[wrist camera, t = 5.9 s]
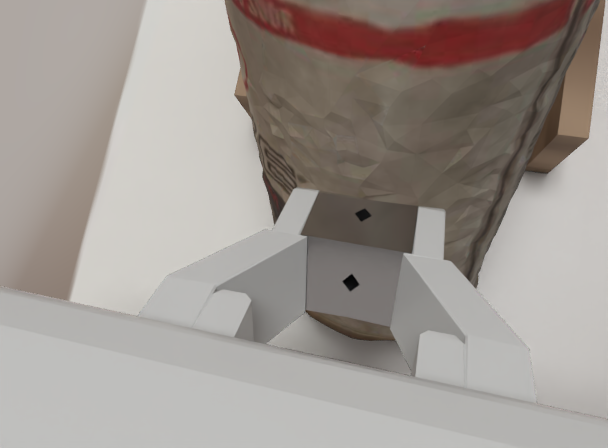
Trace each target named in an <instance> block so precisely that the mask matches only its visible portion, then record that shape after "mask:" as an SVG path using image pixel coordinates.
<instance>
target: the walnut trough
mask: <svg viewBox="0 0 608 448" xmlns="http://www.w3.org/2000/svg"><path fill="white" fill-rule="evenodd" d="M604 8H605V0H600V2H599V6H598V8H597V10H596V11H595V13H594V15H593V17H592V19H591V21H590V23H589V26H588V28H587V31H586V34H585V36H584V38H583V40H582V42H581V44H580V46H579V48H578V50H577V52H576V54H575V56H574V58H573V60H572V62H571V64H570V66H569V67H568V69H567V71H566V73H565V76H564V79H563V81H562V84H561V86H560V89H559V91H558V94H557V97H556V99H555V102H554V104H553V106H552V108H551V109H550V111H549V113H548V115H547V117H546V119H545V122H544V125H543V127H542V130H541V133H540V135H539V137H538V139H537V142H536V144H535V146H534V149H533V152H532V155H531V157H530V159H529V161H528V163H527V166H526V169H525V170H527V171H534V172H542V173H549V172H550V171H551V170H552V169H553V168H554V167H556V166H557V165H558V164H559V163H560V162H561V161H563V160H564V159H565V158H566V157H567V156H568V155H570V154H571V153H572V152H573V151H574V150H575V149H577V148H578V147H579V146H580V145H581V144H582V143H584V142H585V141H586V140H587V139H588V138H589V131H590V123H591V115H592V107H593V98H594V90H595V82H596V74H597V65H598V57H599V49H600V41H601V33H602V24H603V16H604ZM234 95H235V96H236V98H237V99H238V101H239V102H240V103H241V105H242V106H243V108H244V109H245V110H246V112H247V113H248V115H249V116H250V117H251V114H250V109H249V101H248V98H247V95H246V90H245V85H244V82H243V78H242V73H241V68H240V72H239V77H238V81H237V85H236V90H235V94H234ZM251 119H252V117H251Z"/></svg>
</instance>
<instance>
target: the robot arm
mask: <svg viewBox="0 0 608 448" xmlns="http://www.w3.org/2000/svg"><path fill="white" fill-rule="evenodd" d="M445 213H446V211H445V210H444V209H440V208H432V207H423V206H414V205H406V204H398V203H390V202H383V201H375V200H369V199H366V198H360V197H354V196H349V195H343V194H337V193H331V192H326V191H319V190H315V189H307V188H300V187H297V188H295V189H293V191H292V193H291V195H290V197H289V199H288V201H287V202H286V204H285V206H284V208H283V210H282V212H281V214H280V216H279V218H278V220H277V221H276V223H275V225H274V227H273V229H272V230H267V229H265V230H262V231H260V232H258V233H256V234H254V235H252V236H250V237H248V238H246V239H243V240H241V241H239V242H237V243H235V244H233V245H231V246H229V247H227V248H225V249H222V250H220V251H218V252H216V253H214V254H212V255H210V256H208V257H206V258H203V259H201V260H199V261H197V262H195V263H193V264H191V265H189V266H187V267H184V268H182V269H180V270H178V271H176V272H174V273H172V274H170V275H168V276H166V277H165V279H164V280H163V282H162V283H161V284H160V286H159V287H158V288H157V290H156V291H155V293H154V294H153V295H152V297H151V298H150V299H149V301H148V302H147V304H146V305H145V306H144V308H143V309H142V310H141V312H140V313H139V315H138V316H134V315H130V314H125V313H120V312H116V311H111V310H107V309H102V308H98V307H93V306H88V305H84V304H79V303H75V302H70V301H66V300H61V299H56V298H52V297H47V296H43V295H38V294H34V293H29V292H24V291H20V290H15V289H11V288H6V287H2V286H0V448H608V419H605V418H601V417H596V416H592V415H587V414H582V413H578V412H573V411H569V410H564V409H560V408H555V407H551V406H546V405H541V404H537V400H536V393H535V385H534V378H533V371H532V364H531V357H530V350H529V348H528V347H527V346H526V345H525V343H524V342H523V341H522V340H521V339H520V338H519V337H518V336H517V334H516V333H515V332H514V331H513V330H512V329H511V328H510V327H509V325H508V324H507V323H506V322H505V321H504V320H503V319H502V318H501V317H500V315H499V314H498V313H497V312H496V311H495V310H494V309H493V308H492V306H491V305H490V304H489V303H488V302H487V301H486V300H485V299H484V297H483V296H482V295H481V294H480V293H479V292H478V291H477V290H476V288H475V287H474V286H473V285H472V284H471V283H470V282H469V281H468V279H467V278H466V277H465V276H464V275H463V274H462V273H461V272H460V271H459V269H458V268H457V267H456V266H455V265H454V264H453V263H452V262H451V261H448V260H444V237H445ZM305 310H309V311H315V312H321V313H326V314H332V315H338V316H344V317H349V318H353V319H358V320H362V321H366V322H371V323H375V324H380V325H384V326H388V327H390V330H391V332H392V334H393V336H394V338H395V340H396V342H397V344H398V346H399V348H400V350H401V352H402V354H403V356H404V358H405V360H406V362H407V364H408V366H409V368H410V370H411V375H410V376H409V375H405V374H400V373H396V372H391V371H386V370H382V369H377V368H373V367H368V366H363V365H359V364H354V363H350V362H345V361H340V360H336V359H331V358H327V357H322V356H317V355H313V354H308V353H303V352H299V351H294V350H290V349H285V348H280V347H276V346H271V345H267V344H266V343H267V342H269V341H270V340H271V339H272V338H274V337H275V336H276V335H277V334H279V333H280V332H281V331H282V330H284V329H285V328H286V327H287V326H289V325H290V324H291V323H292V322H294V321H295V320H296V319H297V318H299V317H300V316H301V315H302V314H303V313H305Z"/></svg>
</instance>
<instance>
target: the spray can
mask: <svg viewBox="0 0 608 448" xmlns="http://www.w3.org/2000/svg"><path fill="white" fill-rule="evenodd" d="M599 2H600V0H225V5H226V9H227V14H228V19H229V24H230V29H231V32H232V35H233V37H234V40H235V42H236V45H237V51H238V55H239V60H240V67H241V73H242V78H243V82H244V85H245V90H246V95H247V98H248V101H249V109H250V114H251V117H252V123H253V131H254V136H255V139H256V142H257V145H258V149H259V158H260V161H261V164H262V167H263V180H264V183H265V186H266V188H267V191H268V194H269V200H270V205H271V209H272V215H273V220H274V224H275V223H276V221H277V220H278V218H279V216H280V214H281V212H282V210H283V208H284V206H285V204H286V202H287V201H288V199H289V197H290V195H291V193H292V191H293V189H295V188H297V187H300V188H307V189H315V190H319V191H326V192H331V193H337V194H343V195H349V196H354V197H360V198H366V199H369V200H375V201H383V202H390V203H398V204H406V205H414V206H423V207H432V208H440V209H444V210H445V211H446V213H445V237H444V260H448V261H451V262H452V263H453V264H454V265H455V266H456V267H457V268H458V269H459V271H460V272H461V273H462V274H463V275H464V276H465V277H466V278H467V279H468V281H469V282H470V283H471V284H472V285H473V286H474V287H475V288H477V285H478V273H479V271H480V269H481V266H482V263H483V259H484V256H485V254H486V252H487V251H488V249H489V247H490V245H491V242H492V239H493V237H494V236H495V235H496V233H497V230H498V228H499V226H500V224H501V222H502V219H503V217H504V215H505V213H506V210H507V207H508V205H509V202H510V200H511V198H512V196H513V195H514V193H515V191H516V189H517V188H518V185H519V182H520V180H521V178H522V176H523V174H524V172H525V169H526V166H527V163H528V161H529V159H530V157H531V155H532V152H533V149H534V146H535V144H536V142H537V139H538V137H539V135H540V133H541V130H542V127H543V125H544V122H545V119H546V117H547V115H548V113H549V111H550V109H551V108H552V106H553V104H554V102H555V99H556V97H557V94H558V91H559V89H560V86H561V84H562V81H563V79H564V76H565V73H566V71H567V69H568V67H569V66H570V64H571V62H572V60H573V58H574V56H575V54H576V52H577V50H578V48H579V46H580V44H581V42H582V40H583V38H584V36H585V34H586V31H587V28H588V26H589V23H590V21H591V19H592V17H593V15H594V13H595V11H596V10H597V8H598V6H599ZM305 311H306V312H307V313H308V314H309V315H310V316H311V317H312V318H314V319H316V320H317V321H319V322H321V323H322V324H324V325H326V326H328V327H330V328H332V329H334V330H336V331H337V332H339V333H342V334H344V335H346V336H348V337H351V338H354V339H360V340H369V341H373V340H395V338H394V336H393V334H392V332H391V330H390V327H388V326H384V325H380V324H375V323H371V322H366V321H362V320H358V319H353V318H349V317H344V316H338V315H332V314H326V313H321V312H315V311H309V310H305Z"/></svg>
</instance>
